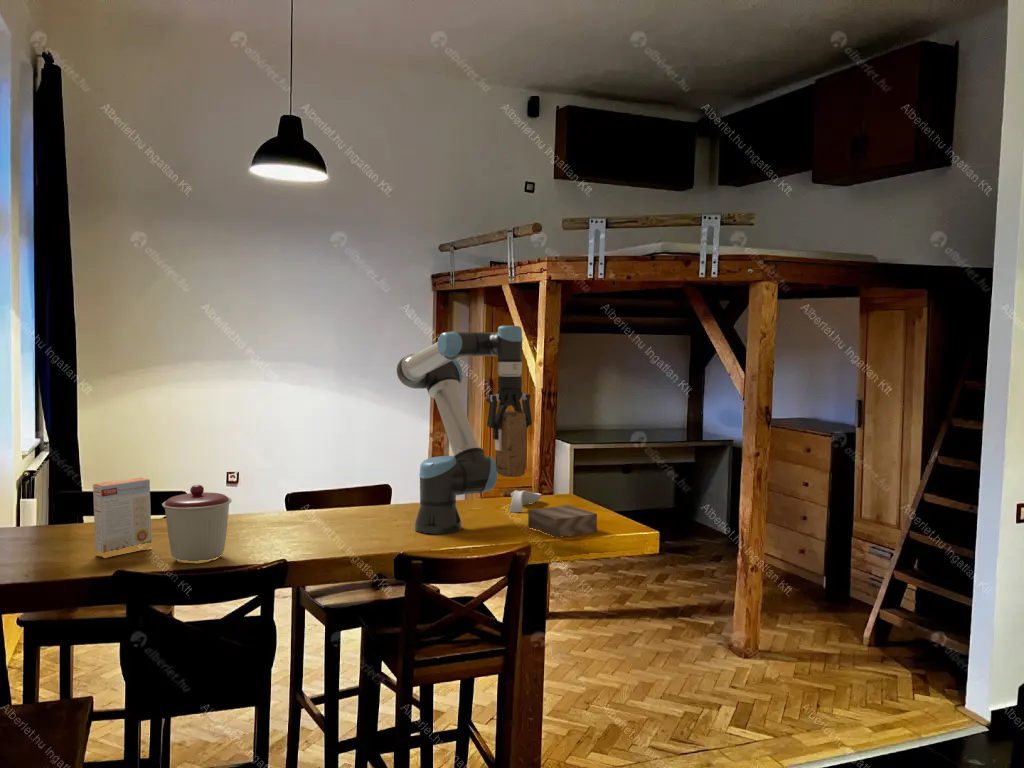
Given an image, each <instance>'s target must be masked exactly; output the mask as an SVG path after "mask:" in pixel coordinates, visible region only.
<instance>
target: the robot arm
mask: <svg viewBox="0 0 1024 768" xmlns="http://www.w3.org/2000/svg"><path fill="white" fill-rule="evenodd" d="M523 339H524V337H523V329H522V327H521V326H520V325H499V326H498V328H497V332H496V331H495V332H490V331H489V332H488V331H485V332H483V331H481V332H480V331H479V332H477V331H476V332H475V331H473V332H472V331H445V332H442V333H441V334H439V337H438V339H437V342H435V343H433V344H432V345H429V346H428V347H426V348H424V349H422V350H420V351H418V352H417V353H410V354H407V355H405V356H403V358H401V359H400V360H399V362H398V363H397V366H396V375H397V379H398V380H399V381H400V382H401V383H402V385H404V386H406V387H408V388H411V389H415V390H416V389H423V390H424V389H426V390H427V393H428V396H429V397H430V398H432V399H434V400H435V403H436V405H437V410H438V412H439V416H440V418H441V421H442V425H443V427H444V430H445V434H446V436H447V439H448V441H449V445H450V447H451V451H452V453H453V455H442V456H440V455H439V456H433V457H430V458H426V459H425V460H423V461H422V462H421V464H420V468H419V475H418V476H419V509H418V511H417V514H416V518H415V521H414V531H415V532H417V531H419V532H418V533H420V532H423V533H422V534H426V533H431V534H430V535H445V534H451V533H456V532H459V531H461V529H462V520H461V517H460V514H459V511H458V508H457V499H456V498H457V496H461V495H472V494H481V493H484V492H485V493H486V492H489V491H492V490H493V488H494V487H495V485H496V484H497V480H498V474H499V473H498V472H497V471H496V459H495V458H494V457H492V456H486V453H485V450H484V449H483V448H482V447H480V446H478V443H477V441H476V439H475V435H474V432H473V429H472V426H471V424H470V422H469V419H468V415H467V413H466V411H465V407H464V405H463V402H462V398H461V396H460V392H459V389H460V388H461V387H460V386H461V383H462V381H463V375H462V373H463V370H462V369H463V368H462V366H461V364H460V362H459V361H458V359H459V358H460V357H497V375H499V376H498V377H497V389H498V390H497V392H496V394H495V393H494V394H490V395H488V400H489V405H488V406H489V407H488V414H487V421H486V422H487V423H486V426H487V427H488V428H491V429H492V439H493V440H494V450H495V451H496V450H499V451H501V450H502V429H499V427H500V424H501V422H502V419H503V414H504V413H505V411H507V409H508V407H511V406H512V408H513V411H520V412H523V413H525V418H526V429H527V428H529V426H532V424H533V421H532V414H531V404H530V399H531V394H530V393H524V392H522V388H523V376H522V374H523V373H522V372H523ZM520 400H521V402H520ZM498 401H499V403H498ZM497 408H498V409H497Z"/></svg>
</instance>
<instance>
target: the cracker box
mask: <svg viewBox="0 0 1024 768" xmlns="http://www.w3.org/2000/svg"><path fill="white" fill-rule="evenodd" d="M150 481H151V480H150V479H148V478H143V477H136V478H129V479H121V480H112V481H107V482H100V483H94V484H92V494H93V518H94V520H93V521H94V543H95V544H94V545H95V547H94V548H95V551H96V550H98V551H100V552H103V553H105V552H109V551H113V550H119V549H123V548H126V547H129V546H134V545H139V544H145V543H151V542H152V518H151V517H152V515H151V512H152V511H151V510H152V509H151V507H152V506H151V487H150V486H151V484H150Z"/></svg>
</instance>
